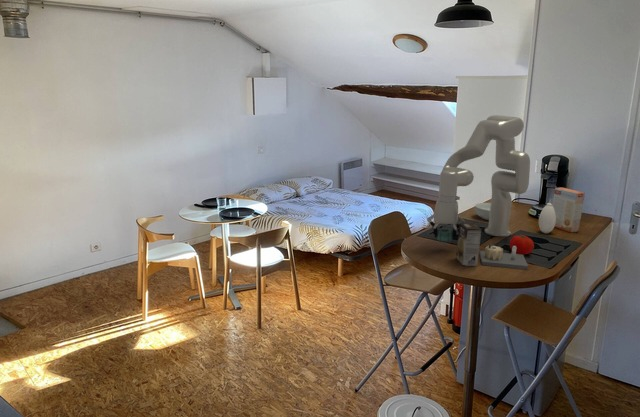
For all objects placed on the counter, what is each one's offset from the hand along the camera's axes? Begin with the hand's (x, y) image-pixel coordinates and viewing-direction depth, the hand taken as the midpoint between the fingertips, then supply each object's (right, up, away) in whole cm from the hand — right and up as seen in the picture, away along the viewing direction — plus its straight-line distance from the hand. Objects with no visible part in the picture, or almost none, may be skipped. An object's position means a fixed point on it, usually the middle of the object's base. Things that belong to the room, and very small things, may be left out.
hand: (444, 236), depth 223 cm
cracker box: (+72, +2, +38) cm, 82 cm away
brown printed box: (+6, -10, -12) cm, 17 cm away
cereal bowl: (+39, +7, +55) cm, 67 cm away
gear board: (+22, -10, -11) cm, 26 cm away
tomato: (+34, -8, -1) cm, 35 cm away
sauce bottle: (+59, 0, +30) cm, 66 cm away
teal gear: (0, -1, 0) cm, 1 cm away
